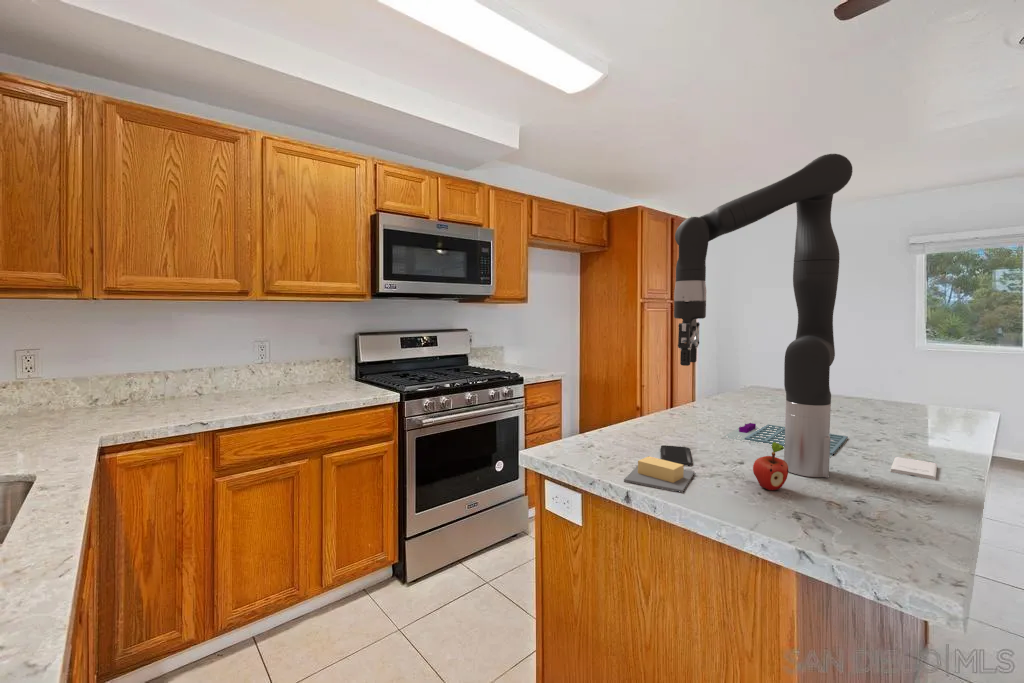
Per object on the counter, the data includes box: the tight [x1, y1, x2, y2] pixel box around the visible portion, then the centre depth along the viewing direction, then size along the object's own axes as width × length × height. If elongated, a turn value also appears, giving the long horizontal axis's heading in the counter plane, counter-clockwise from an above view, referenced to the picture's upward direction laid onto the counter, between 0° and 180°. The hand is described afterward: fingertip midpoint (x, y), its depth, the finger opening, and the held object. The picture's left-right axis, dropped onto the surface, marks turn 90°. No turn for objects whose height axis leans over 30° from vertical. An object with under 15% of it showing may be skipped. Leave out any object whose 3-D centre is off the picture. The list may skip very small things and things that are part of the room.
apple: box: [752, 442, 789, 491], centre depth 103 cm, size 8×7×10 cm
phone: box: [659, 444, 693, 466], centre depth 126 cm, size 8×1×15 cm
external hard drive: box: [889, 456, 938, 481], centre depth 115 cm, size 2×8×12 cm
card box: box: [637, 455, 685, 483], centre depth 109 cm, size 5×9×3 cm, turn 44°
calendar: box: [723, 422, 848, 459], centre depth 144 cm, size 27×29×2 cm
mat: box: [623, 465, 696, 493], centre depth 109 cm, size 13×14×1 cm
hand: (688, 363), depth 117 cm, fingers open, 8 cm apart
